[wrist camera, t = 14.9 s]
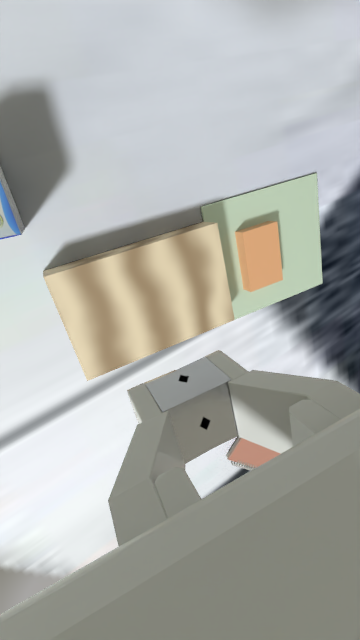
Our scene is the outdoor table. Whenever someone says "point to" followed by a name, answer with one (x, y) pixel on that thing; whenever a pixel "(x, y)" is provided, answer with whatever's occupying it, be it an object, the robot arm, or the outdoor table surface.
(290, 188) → the mat
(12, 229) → the medicine box
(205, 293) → the plate
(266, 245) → the orange rectangular block
